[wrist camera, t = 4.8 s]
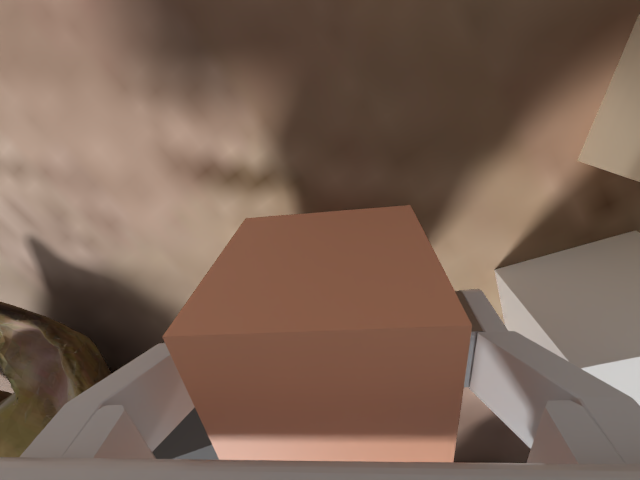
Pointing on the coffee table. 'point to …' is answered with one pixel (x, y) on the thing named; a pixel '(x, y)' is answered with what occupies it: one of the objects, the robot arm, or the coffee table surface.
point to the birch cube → (619, 118)
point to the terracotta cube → (326, 341)
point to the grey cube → (581, 307)
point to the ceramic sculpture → (40, 373)
